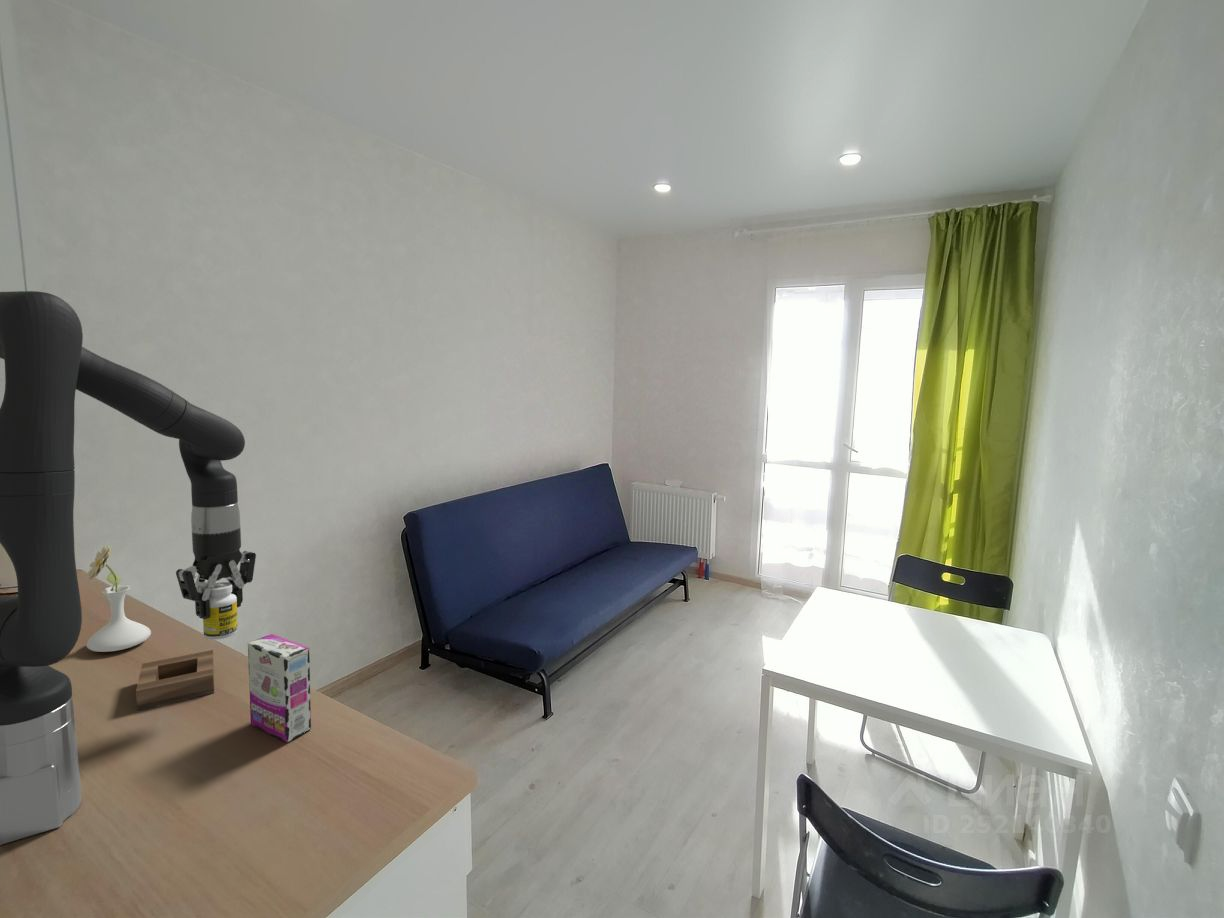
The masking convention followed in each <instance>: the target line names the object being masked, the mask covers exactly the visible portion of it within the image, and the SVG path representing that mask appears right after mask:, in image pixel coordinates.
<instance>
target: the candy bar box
mask: <svg viewBox="0 0 1224 918" xmlns="http://www.w3.org/2000/svg"><path fill="white" fill-rule="evenodd" d="M247 654H248V656H247V658H248V682H249V684H248V685H249V709H250V711H249V712H250V725H251V726H253V727H254V728H257V729H259V730H261V731H263V732H265V733H267V734H269V735H272V736H273V737H275V738H277V739H280V740H282V741H284V742H286V743H289V742H292V741H294V740H295V739H297V738H299V737H300V736H299V735H301V734H303V733H304V732H306V731H308V730H309V729H311V730H312V721H311V720H312V717H311V715H312V714H311V713H312V712H311V672H310V671H311V669H310V667H311V666H310V665H311V664H310V662H311V661H310V660H311V659H310V647H308V646H306V645H303V644H300V643H298V642H295V641H292V640H289V639H286V638H285V637H281V636H278V635H276V634H273V633H271V634H268V635H265V636H262V637H260V638H258V639H255V640H253V641H250V642H248V643H247ZM309 731H310V730H309ZM309 731H308V732H309ZM306 733H307V732H306ZM304 734H305V733H304ZM304 734H303V735H304ZM298 736H299V737H298ZM301 736H302V735H301ZM296 737H297V738H296ZM293 739H294V740H293Z"/></svg>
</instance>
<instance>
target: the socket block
mask: <svg viewBox="0 0 1224 918" xmlns="http://www.w3.org/2000/svg"><path fill="white" fill-rule="evenodd" d="M210 694H211V695H212V694H215V663H214V649H211V650H207V651H206V650H205V651H200V652H196V653H190V654H185V655H178V656H175V657H170V658H165V659H158V660H155V661H154V660H153V661H149V662H145V663H144V662H143V663H142V665H141V667H140V672H139V676H138V680H137V685H136V689H135V695H136V696H135V697H136V707H137V711H141V710H145V709H146V710H147V709H150V708H156V707H160V706H163V705H168V704H171V703H176V702H180V701H185V700H189V699H193V698H198V697H203V696H208V695H210Z"/></svg>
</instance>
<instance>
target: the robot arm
mask: <svg viewBox="0 0 1224 918" xmlns="http://www.w3.org/2000/svg"><path fill="white" fill-rule="evenodd" d="M83 337H84V334H83V326H82V323H81V320H80V317H79V316H78V314H77V312H76V311H75V309H74V308H73V307H72V306H71V305H70V304H69V303H68V302H66V301H65V300H64V299H63V298H60V297H59V296H57V295H55V294H52V293H49V292H44V291H38V290H37V291H34V290H29V291H28V290H26V291H24V290H23V291H20V290H19V291H18V290H17V291H15V290H14V291H0V359H1V360H4V374H5V375H4V377H5V380H4V381H5V382H4V383H5V384H4V385H5V386H4V394H3V399H2V402H1V406H0V545H1V547H3V549H4V550H5V552H6V554H7V555H8V557H9V559H10V561H11V563H12V566H13V568H14V572H15V575H16V583H17V595H3V596H0V846H1V845H5V844H9V843H12V842H15V841H18V840H21V839H25V838H27V837H31V836H35V835H38V834H42V833H44V832H47V831H51V830H55V829H57V828H60V827H61V826H62V825H63V822H64V821H65V820H66V819H68V818H69V817H70V816H72V815H73V814H74V813H75V812H76V811H77V810H78V808H79V807H80V806H81V804H82V800H83V799H82V788H81V787H82V785H81V776H80V765H79V756H78V755H79V753H78V744H77V743H78V742H77V736H76V735H77V733H76V722H75V721H76V720H75V711H74V710H75V708H74V698H73V688H72V681H71V679H70V677H69V676H68V675H67V674H65V673H63V671H59V670H57V669H56V668H54V667H51V666H52V665H54V664H57V663H59V662H60V661H62V660H64V658H66V657H67V656H68V655H69V654H70V653H71V652H72V650H73V649H74V647H75V645H76V644H77V642H78V641H79V636H80V635H81V629H82V623H83V620H82V619H83V613H82V601H81V596H80V595H81V594H80V593H81V592H80V586H79V581H78V573H77V572H78V571H77V565H76V556H75V555H76V553H75V529H74V528H75V527H74V524H75V523H74V509H75V508H74V507H75V506H74V504H75V502H74V501H75V493H76V492H75V487H76V486H75V483H76V481H75V480H76V479H75V477H76V475H75V468H76V467H75V453H74V452H75V450H74V448H75V446H74V445H75V399H76V391H79V392H81V393H83V394H85V395H87V396H89V397H90V398H92V399H94V400H96V401H99V402H101V403H103V404H104V405H106V406H108V407H110V408H112V409H114V410H115V411H118V412H120V413H121V414H122V415H125V416H127V417H128V418H130V419H132V420H134V421H135V422H137V423H138V424H140V425H143V426H144V427H145V428H148V429H150V430H151V431H153V432H155V433H157V434H160V435H162V436H164V437H169V438H173V439H177V440H178V449H179V453H180V457H181V459H182V462H183V465H184V468H185V471H186V474H187V476H188V479H189V481H190V484H191V485H190V487H191V488H190V489H191V490H190V491H191V514H190V515H191V517H190V518H191V519H190V522H191V523H190V524H191V526H190V527H191V542H192V553H193V555H194V560H193V563H192V565H191V566H189V567H187V568H185V569H182V568H178V569H177V570H176V571H175V574H176V576H175V577H176V579H177V582H178V585H179V589H180V593H181V595H182V598H183V599H185V600H189V601H193V602H194V605H195V606H194V607H195V608H194V609H195V615H196V616H197V617H198V618H199V619H202V620H203V619H208V618H210V602H209V599H208V598H209V595H210V592H211V589H212V588H214V586H215V583H217V582H218V581H220V580H221V579H225V580H226V581H227V582H228V583H231V584H232V592H231V593H232V594H234V595H235V596H236V597H237V608H240V607H241V606H242V603H243V599H244V597H243V588H244V587H245V585H246V584H248V583H249V584H250V583H252V581H253V577H254V572H255V565H256V558H257V554H256V553H255V552H253V551H246V550H244V551H243V552H241V551H240V549H241V547H242V535H241V534H242V533H241V513H240V508H239V503H238V501H239V499H238V498H239V497H238V483H237V482H238V481H237V477H236V475H234V473H232V472H230V471H228V470H226V469H225V468H224V467H223V464H222V461H229V460H233V459H235V458H237V457H238V456H240V455H241V454H242V453H243V451H244V450H245V445H246V440H245V436H244V434H243V432H242V431H241V430H240V429H239V427H237V426H236V425H235V424H234V423H233V422H231V421H230V420H227V419H226V418H223V417H221V416H219V415H217V414H215V413H213V412H211V411H208V410H206V409H203V408H201V407H199V406H197V405H194V404H193V403H191V402H189V401H188V399H187V400H186V399H185V398H184V397H182V396H181V395H179V394H177V393H176V392H175V391H173V390H172V389H170V388H168V387H167V386H166V385H164V384H162V383H160V382H158V381H157V380H155V379H152V378H150V377H148V376H146V375H143V374H142V373H139V372H137V371H135V370H132V369H131V368H128V367H125V366H122V365H121V364H119V363H118V364H117V363H116V362H113V361H111V360H109V359H107V358H105V357H103V356H100V355H98V354H96V353H94V352H92V351H91V350H89V349H87V348H85V347H84V346H83ZM239 563H240V564H239ZM238 565H239V568H238ZM196 573H197V574H198V575H197V577H196ZM195 579H196V581H195Z"/></svg>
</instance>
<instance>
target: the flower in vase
mask: <svg viewBox="0 0 1224 918" xmlns="http://www.w3.org/2000/svg"><path fill="white" fill-rule="evenodd" d="M110 556H111V547H110V545H108V546H107V547H106V545H104V546H103V547H102V549H101V551H97V552H96V556H95V558H94V561H92V562H91V563H90V564H89V568H90V569H89V570H88V572H87V573H86V575H85V576H86V577H87V581H89V580H90V581H91V580H95V578H96V577H98V576H99V574H100V573H101V572H102V570H103V569H104V568H105V567H107V569H108V570H109V571H110V573H108V575H107V577H106V581H107V582H109V584H112V585H111V586H109V587H105V588H103V589H102V590H101V591H100V592H101V594H103V595H104V596H105V597H106V598H107V600H108V603H109V605H110V620H109V621H108V622H107V623H106V624H105V625H104V626H103V627H101V628H100V629H98V631H96V632H95V633H93V635H91V637H90V638H89V639H88V640H87V642H86V648H87V649H88V650H90V651H92V652H99V653H101V652H102V653H108V652H117V651H121V650H122V651H123V650H126V649H130V648H133V647H135V646H137V645H139V644H142V643H144V642H145V641H147V639H149V638H150V636H151V634H152V631H151V629H150V628H149V627H148V626H146V625H144V624H143V623H140V622H137V621H135V620H131V619H129V618H127V617H126V614H125V605H124V603H125V598H126V594H127V592H128V591H129V590H130V589H131V586H130V585H128V584H127V585H126V584H125V585H124V584H120V583H121V582H122V578H121V577H120V576H119V575H117V574H116V573H115V572H114V570H113V569H112V568H111V566H110V565H109V564H108V563H107V562H108V561H109V559H110ZM119 584H120V585H119Z"/></svg>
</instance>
